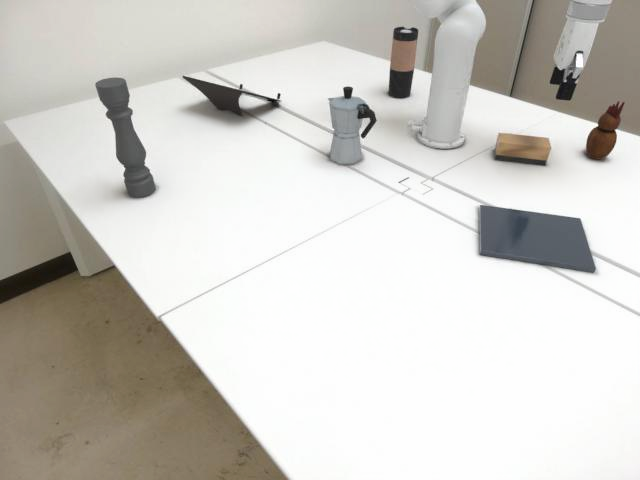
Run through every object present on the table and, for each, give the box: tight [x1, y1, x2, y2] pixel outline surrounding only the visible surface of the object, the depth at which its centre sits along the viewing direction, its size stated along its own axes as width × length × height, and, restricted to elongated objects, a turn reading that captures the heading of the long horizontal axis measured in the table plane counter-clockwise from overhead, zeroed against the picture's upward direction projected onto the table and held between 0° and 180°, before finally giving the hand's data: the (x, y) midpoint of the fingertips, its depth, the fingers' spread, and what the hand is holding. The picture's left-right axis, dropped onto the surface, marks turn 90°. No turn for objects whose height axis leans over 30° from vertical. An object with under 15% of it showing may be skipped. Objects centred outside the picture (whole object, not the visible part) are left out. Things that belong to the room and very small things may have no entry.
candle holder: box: [94, 76, 157, 199], centre depth 97 cm, size 6×6×25 cm
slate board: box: [478, 204, 597, 273], centre depth 90 cm, size 20×16×1 cm
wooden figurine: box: [585, 101, 626, 160], centre depth 112 cm, size 7×6×15 cm
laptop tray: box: [181, 75, 282, 117], centre depth 140 cm, size 23×23×9 cm
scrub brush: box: [493, 132, 552, 166], centre depth 115 cm, size 12×6×5 cm, turn 75°
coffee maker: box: [327, 85, 378, 166], centre depth 111 cm, size 15×9×18 cm, turn 47°
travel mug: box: [388, 26, 419, 99], centre depth 144 cm, size 8×8×20 cm
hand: (559, 91), depth 106 cm, fingers open, 9 cm apart
